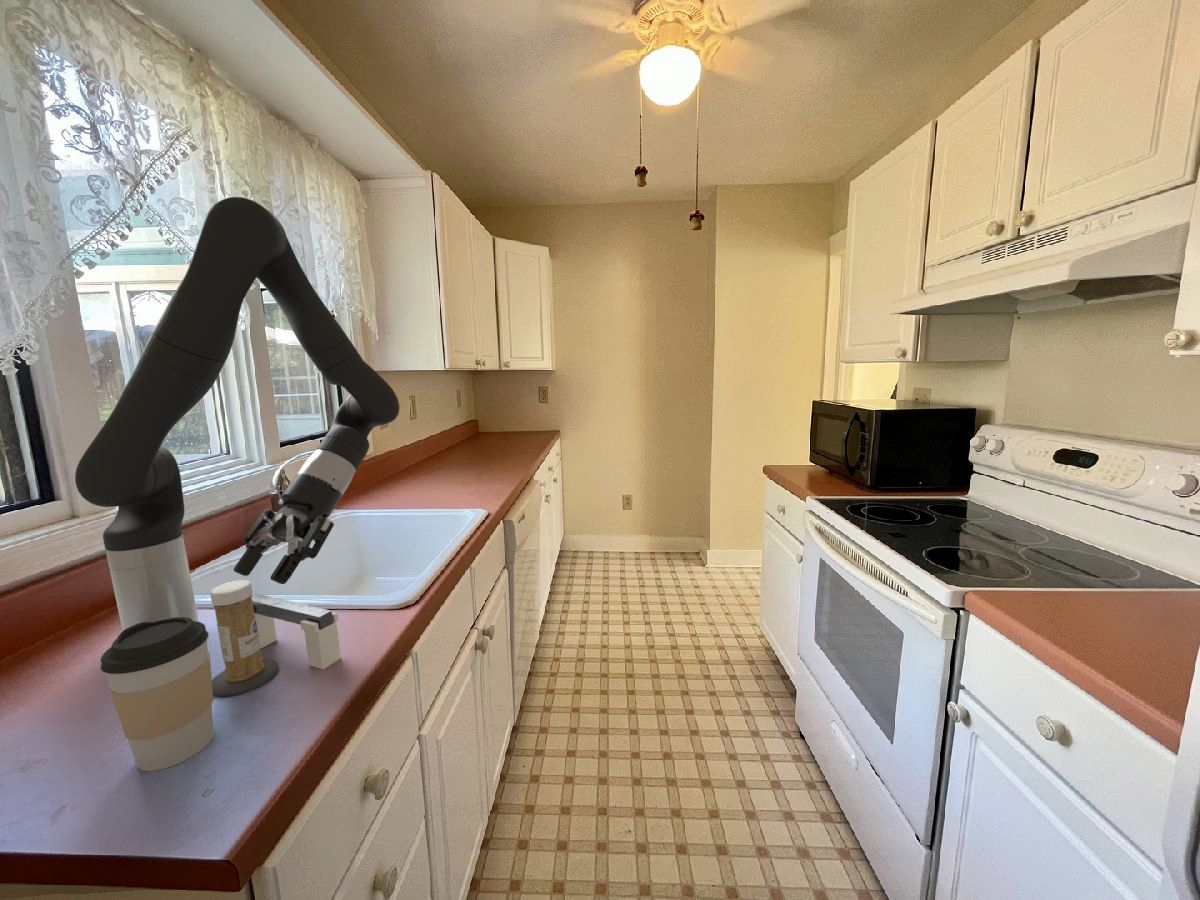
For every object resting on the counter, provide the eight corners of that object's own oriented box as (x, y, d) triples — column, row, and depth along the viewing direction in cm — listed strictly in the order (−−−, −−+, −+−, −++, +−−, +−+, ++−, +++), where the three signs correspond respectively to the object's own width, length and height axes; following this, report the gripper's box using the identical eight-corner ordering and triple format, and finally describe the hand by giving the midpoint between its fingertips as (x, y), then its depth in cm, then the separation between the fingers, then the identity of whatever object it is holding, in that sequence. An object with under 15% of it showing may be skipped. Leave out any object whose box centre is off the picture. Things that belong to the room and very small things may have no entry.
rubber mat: (196, 689, 67) (195, 685, 67) (256, 657, 74) (255, 654, 74) (231, 702, 64) (231, 698, 64) (290, 668, 71) (290, 664, 71)
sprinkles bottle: (264, 675, 69) (249, 586, 67) (224, 687, 66) (207, 596, 64) (265, 660, 73) (251, 576, 70) (227, 671, 70) (211, 584, 68)
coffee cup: (244, 724, 60) (224, 612, 57) (164, 785, 51) (137, 655, 49) (187, 715, 62) (166, 606, 59) (101, 772, 53) (72, 647, 51)
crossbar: (243, 610, 77) (241, 598, 77) (256, 604, 79) (254, 593, 79) (320, 629, 70) (319, 617, 70) (333, 623, 72) (331, 610, 72)
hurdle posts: (243, 647, 77) (236, 605, 76) (267, 635, 81) (261, 595, 80) (320, 671, 70) (314, 625, 69) (343, 656, 74) (337, 612, 73)
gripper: (273, 469, 79) (205, 561, 71) (334, 473, 73) (268, 574, 65) (308, 493, 85) (249, 580, 76) (367, 498, 79) (310, 594, 71)
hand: (258, 577), depth 71 cm, fingers open, 8 cm apart
